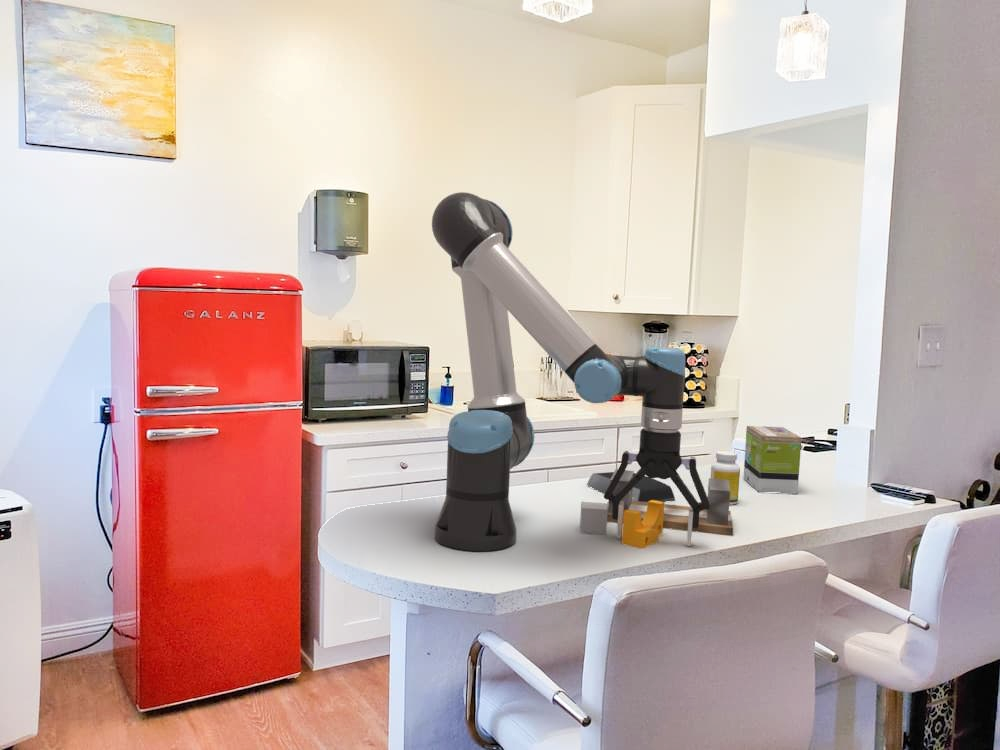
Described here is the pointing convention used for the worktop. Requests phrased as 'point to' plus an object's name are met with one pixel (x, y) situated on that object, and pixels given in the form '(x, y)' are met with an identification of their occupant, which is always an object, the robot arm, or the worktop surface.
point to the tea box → (772, 459)
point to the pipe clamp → (643, 525)
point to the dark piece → (636, 488)
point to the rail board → (684, 508)
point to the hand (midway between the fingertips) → (653, 540)
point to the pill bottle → (727, 472)
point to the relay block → (593, 518)
